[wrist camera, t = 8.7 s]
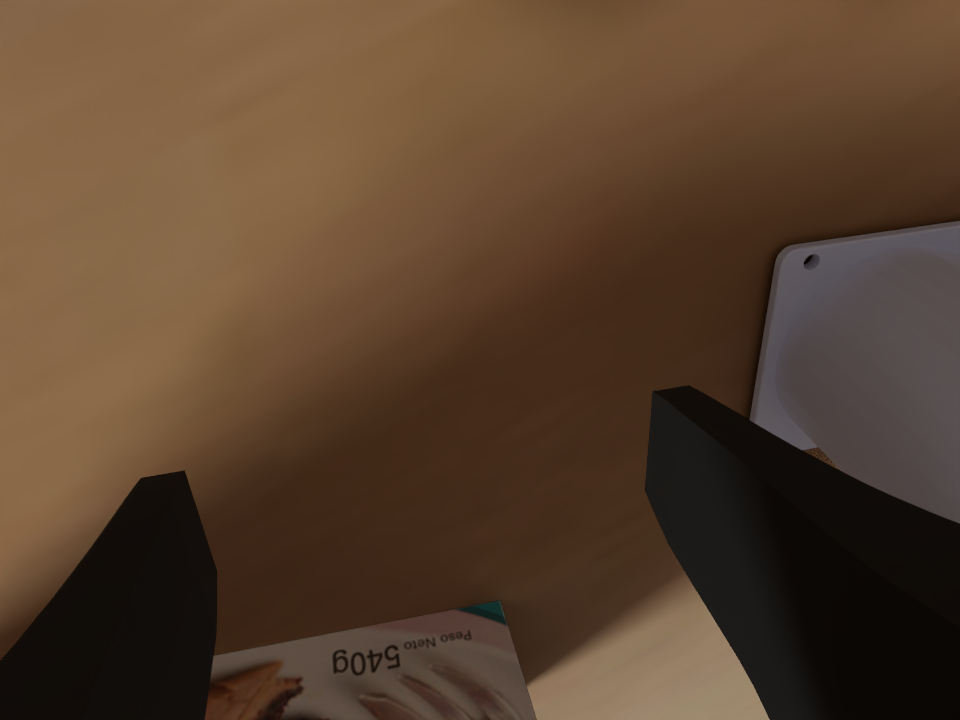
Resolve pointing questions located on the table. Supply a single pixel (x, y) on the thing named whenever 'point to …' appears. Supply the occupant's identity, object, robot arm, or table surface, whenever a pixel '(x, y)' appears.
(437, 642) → the cake mix box
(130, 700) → the robot arm
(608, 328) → the table surface
